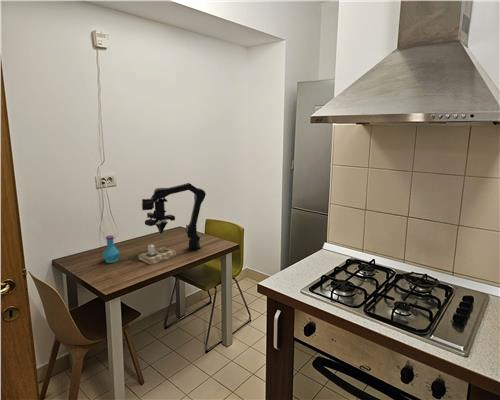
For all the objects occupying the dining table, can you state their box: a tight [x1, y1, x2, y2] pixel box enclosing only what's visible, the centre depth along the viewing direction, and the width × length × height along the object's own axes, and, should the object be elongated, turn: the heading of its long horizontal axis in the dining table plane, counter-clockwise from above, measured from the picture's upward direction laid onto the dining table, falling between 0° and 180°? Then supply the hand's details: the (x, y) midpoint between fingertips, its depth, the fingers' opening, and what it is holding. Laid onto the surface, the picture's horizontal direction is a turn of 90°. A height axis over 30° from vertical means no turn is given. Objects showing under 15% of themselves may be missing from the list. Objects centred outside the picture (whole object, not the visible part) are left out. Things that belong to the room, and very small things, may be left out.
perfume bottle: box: [102, 234, 120, 263], centre depth 202 cm, size 9×9×15 cm
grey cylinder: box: [147, 243, 156, 257], centre depth 204 cm, size 4×4×9 cm
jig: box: [138, 246, 177, 265], centre depth 208 cm, size 18×12×3 cm, turn 141°
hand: (161, 233), depth 214 cm, fingers closed
